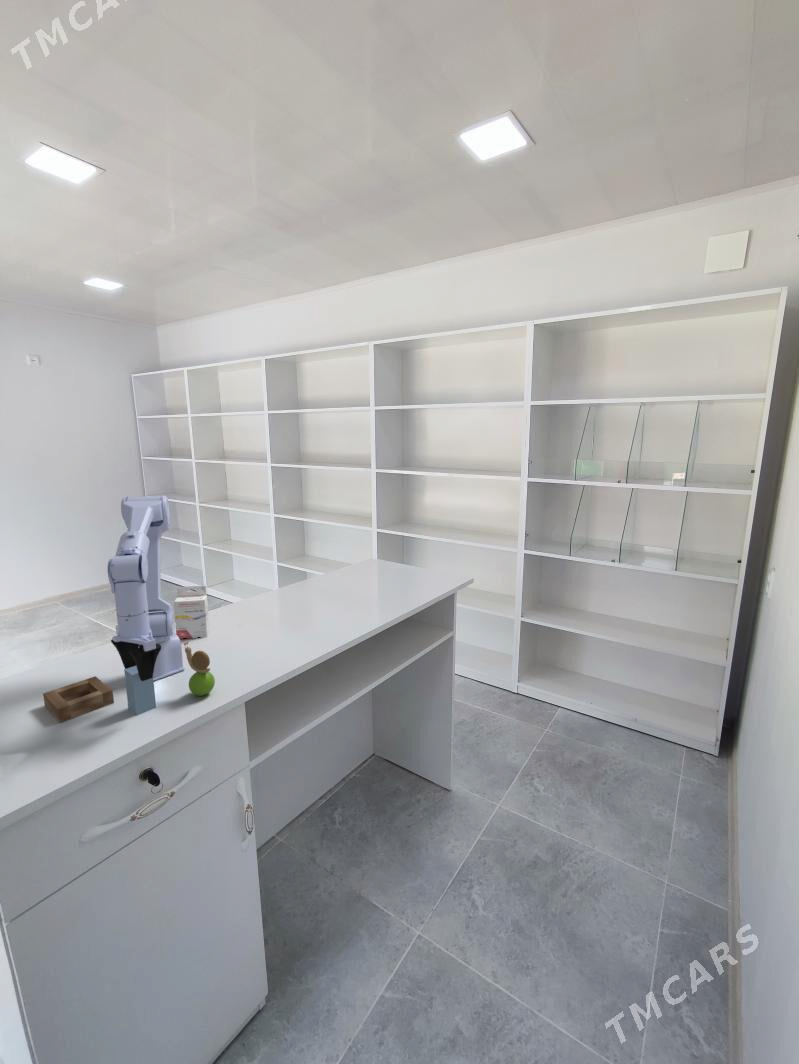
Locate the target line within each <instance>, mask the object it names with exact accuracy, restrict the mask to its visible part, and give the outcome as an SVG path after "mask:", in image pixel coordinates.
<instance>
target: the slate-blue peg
mask: <svg viewBox="0 0 799 1064" xmlns="http://www.w3.org/2000/svg"><path fill="white" fill-rule="evenodd" d="M123 670H124V671H123V672H124V681H125V689H126V700H127V708H128V710H129V711H130V712H132V713H133V714H134V715H135V716H138V715H141V714H143V713H146V712H148V711H152V710H153V709H156V708H157V701H156V693H155V681H154V680H153V677H152V678H151V679H148V680H145V681H141V679H140V677H139V674H138V670H137V666H133V667H130V668H127V669H125V668H124V669H123Z"/></svg>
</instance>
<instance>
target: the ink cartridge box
mask: <svg viewBox="0 0 799 1064" xmlns="http://www.w3.org/2000/svg"><path fill="white" fill-rule="evenodd" d="M191 590H192V591H191ZM194 590H195V591H194ZM176 592H177V597H176V598H175V600H174V602H173V605H174V606H173V609H174V619H175V634H176V635H177V636H178V637H179V639H180V640H184V639H183V638H191V639H198V638H197V637H205V638H208V636H209V633H210V621H209V619H210V618H209V605H208V604H209V603H208V595H207V587H206V585H193V586H192V585H191V586H189V585H188V586H178V587H177V588H176Z"/></svg>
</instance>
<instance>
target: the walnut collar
mask: <svg viewBox="0 0 799 1064" xmlns="http://www.w3.org/2000/svg"><path fill="white" fill-rule="evenodd" d="M42 696H43V701H44V702H43V704H44V707H45V708H46V709H47V710H48V711H49V713H50V714H51V715H52V716H53V717H54V718H55V720H57V721H58V723H59V724H61V723H64V722H66V721H69V720H71V719H75V718H77V717H79V716H80V717H81V716H82V715H86V714H88V713H90V712H94V711H96V710H99V709H102V708H104V707H107V706H110V705H111V704H114V703H115V701H114V700H115V698H114V690H113V689H112V688H111V687H110V686H108V685H107V684H105V682H103V681H102V680H101V679H99V678H98V677H97V676H93V677H89V678H86V679H82V680H79V681H77V682H73V683H71V684H68V685H64V686H61V687H58V688H55V689H53V690H49V691H46V692H43V693H42Z"/></svg>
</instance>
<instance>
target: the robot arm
mask: <svg viewBox="0 0 799 1064" xmlns="http://www.w3.org/2000/svg"><path fill="white" fill-rule="evenodd" d="M120 511H121V517H122V520H123V521H124V523H125V526H126V528H127V531H126V532H124V533H122V535H121V536H120V538H119V541H118V544H117V548H116V551H115V555H113V557H112V558H109V559H108V563H107V571H106V572H107V578H108V581H109V584H110V589H111V593H112V594H113V595H114V602H115V612H116V622H117V623H116V624H117V625H115V633H116V635H114V636H112V639H111V640H110V642H111V644H112V645H113V647H115V649H116V651H117V652H118V655H119V657H120V659H121V662H122V664H123V667H124V669H127V668H130V667H133V666H137V670H138V674H139V677H140V679H141V681H145V680H148V679H151V678H152V677H153V680H154V682H155V681H157V680H160V679H163V678H166V677H169V676H171V675H174V674H178V673H180V672H182V671H185V669H186V668H185V667H184V660H183V649H182V648H183V647H182V643H181V639H179V637H178V636H177V635H176V623H175V612H174V606H172V604H171V603H170V602H168V601H167V600H164V599H163V598H162V589H161V583H162V582H161V581H162V578H161V571H162V569H161V541H162V540H161V539H162V535H163V534H164V533H166V532H167V531H169V526H170V525H171V523H170V503H169V498H168V497H167V496H166V495H165V494H163V495H155V496H154V495H153V496H152V495H151V496H126V495H125V496H124V497H123V498H122V499H121V501H120Z"/></svg>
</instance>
